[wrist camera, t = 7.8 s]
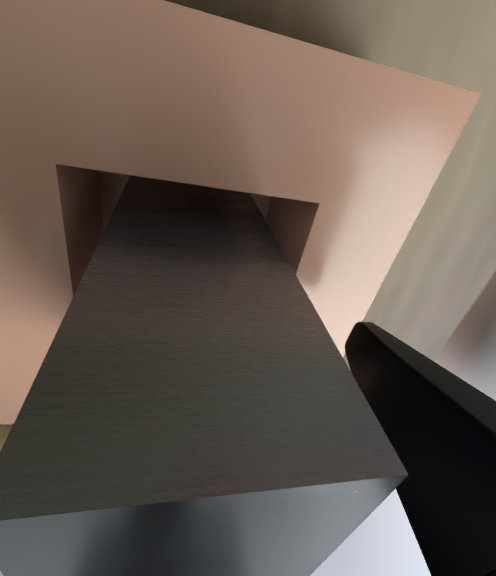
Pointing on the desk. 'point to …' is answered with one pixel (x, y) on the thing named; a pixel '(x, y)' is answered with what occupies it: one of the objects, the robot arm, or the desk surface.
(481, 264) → the desk surface
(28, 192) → the well
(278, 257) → the grey rectangular block
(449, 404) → the robot arm
